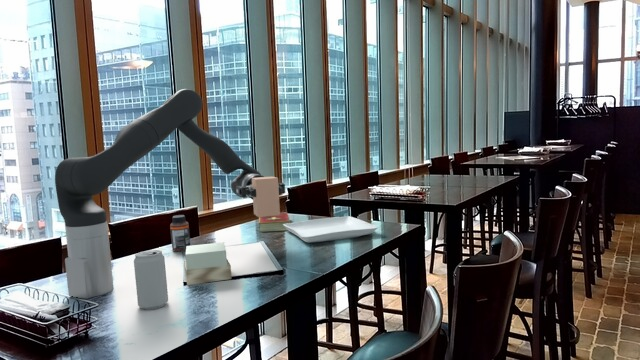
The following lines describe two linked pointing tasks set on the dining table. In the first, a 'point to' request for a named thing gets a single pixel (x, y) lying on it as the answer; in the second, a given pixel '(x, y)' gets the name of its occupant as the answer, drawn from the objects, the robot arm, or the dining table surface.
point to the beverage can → (151, 279)
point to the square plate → (330, 228)
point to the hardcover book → (273, 222)
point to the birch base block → (208, 274)
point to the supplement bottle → (179, 233)
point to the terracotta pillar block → (266, 196)
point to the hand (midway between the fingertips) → (267, 192)
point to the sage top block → (205, 256)
